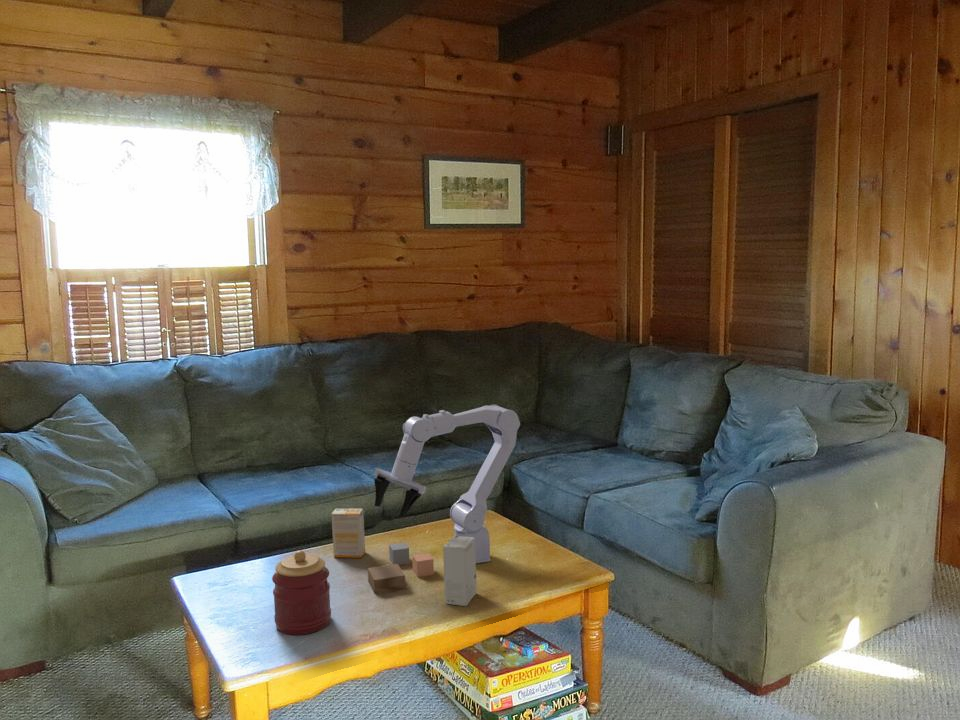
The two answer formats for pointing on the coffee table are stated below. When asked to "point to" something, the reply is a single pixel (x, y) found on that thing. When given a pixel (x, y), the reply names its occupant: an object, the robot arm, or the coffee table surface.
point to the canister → (301, 594)
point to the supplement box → (348, 533)
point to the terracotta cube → (423, 565)
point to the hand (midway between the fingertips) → (389, 511)
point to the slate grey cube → (399, 553)
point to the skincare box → (459, 570)
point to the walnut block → (386, 578)
